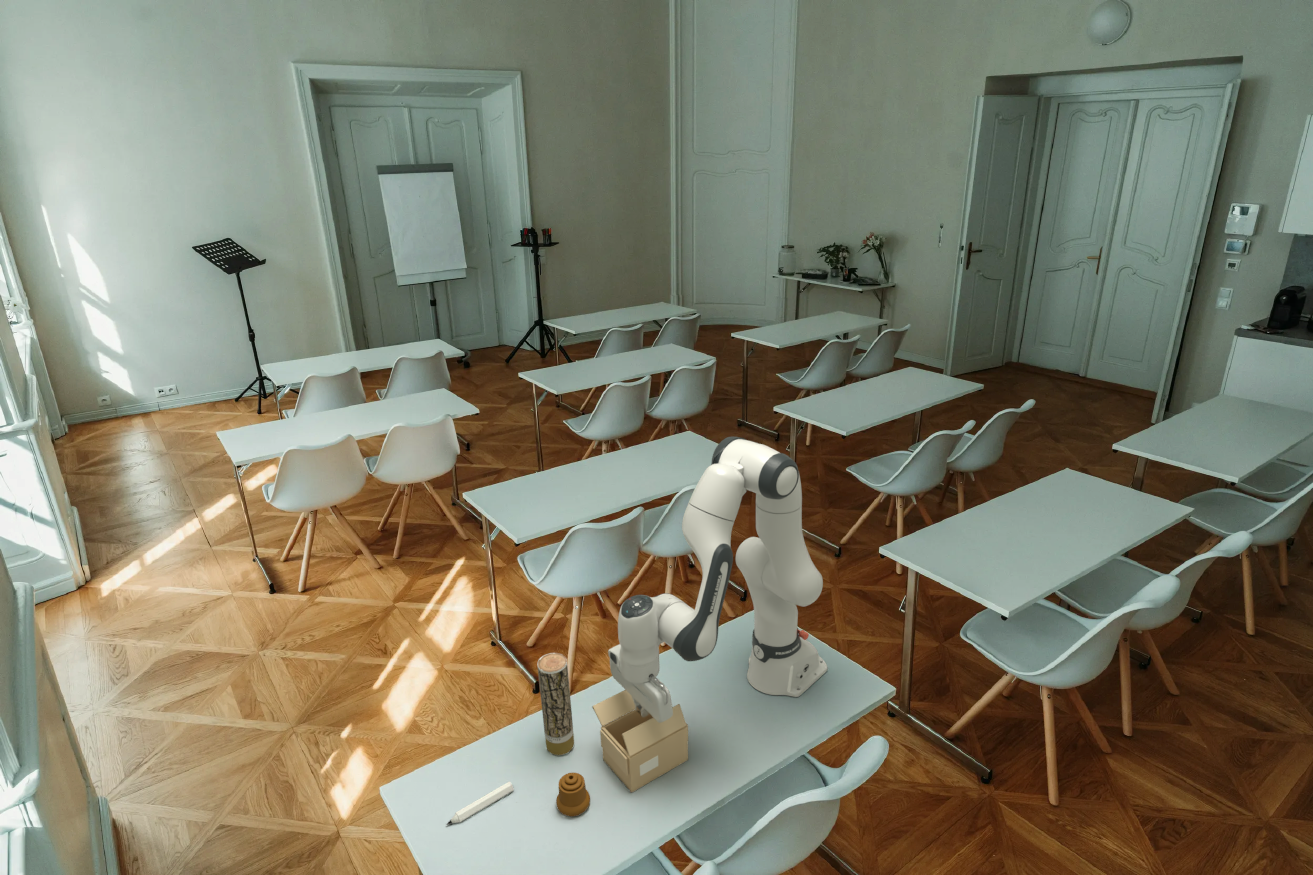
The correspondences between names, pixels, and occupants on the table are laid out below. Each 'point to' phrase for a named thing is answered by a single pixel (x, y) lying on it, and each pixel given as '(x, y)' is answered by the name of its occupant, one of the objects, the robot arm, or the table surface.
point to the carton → (641, 752)
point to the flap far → (614, 707)
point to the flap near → (652, 731)
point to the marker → (482, 803)
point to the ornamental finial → (572, 795)
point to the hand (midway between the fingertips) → (641, 712)
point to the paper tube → (556, 703)
